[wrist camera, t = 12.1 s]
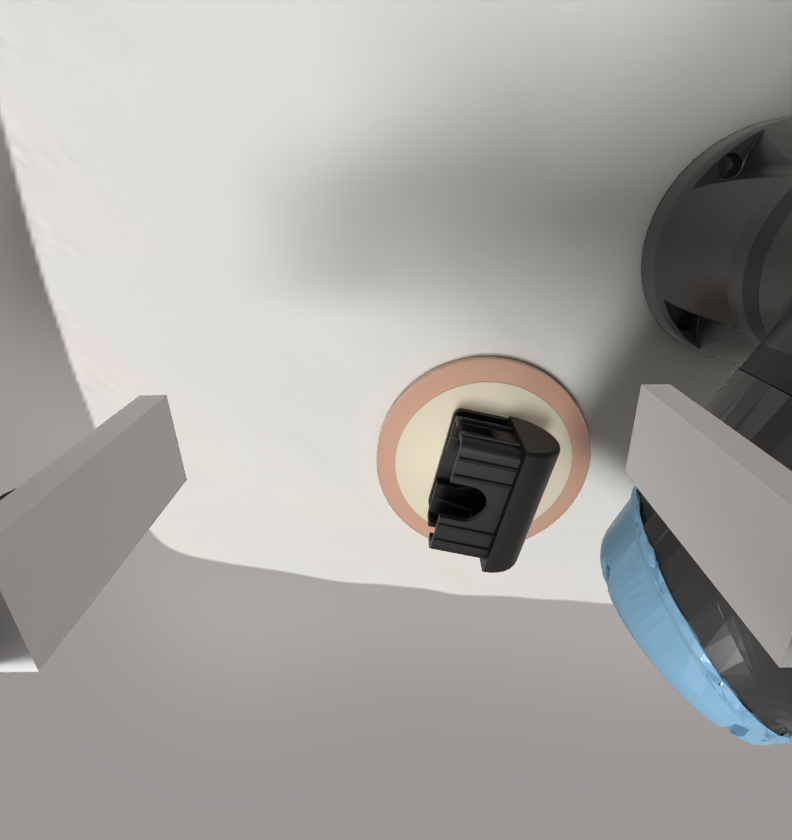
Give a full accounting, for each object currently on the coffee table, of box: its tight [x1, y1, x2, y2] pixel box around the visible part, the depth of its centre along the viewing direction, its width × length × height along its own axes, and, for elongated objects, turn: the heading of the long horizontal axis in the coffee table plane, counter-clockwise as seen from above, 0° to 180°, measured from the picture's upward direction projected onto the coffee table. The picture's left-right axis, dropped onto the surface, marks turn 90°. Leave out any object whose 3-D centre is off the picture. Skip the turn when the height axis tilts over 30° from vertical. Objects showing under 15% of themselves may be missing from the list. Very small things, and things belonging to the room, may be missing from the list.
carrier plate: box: [377, 356, 590, 539], centre depth 40 cm, size 17×17×2 cm
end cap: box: [427, 408, 560, 573], centre depth 36 cm, size 10×7×7 cm
